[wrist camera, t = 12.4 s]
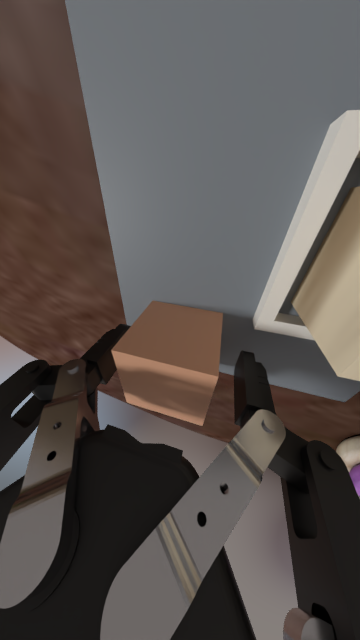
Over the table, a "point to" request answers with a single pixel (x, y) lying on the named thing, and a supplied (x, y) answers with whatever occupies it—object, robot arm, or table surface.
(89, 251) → the table surface
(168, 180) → the board
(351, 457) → the stacking toy
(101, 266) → the table surface
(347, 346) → the maple block
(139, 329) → the terracotta block
